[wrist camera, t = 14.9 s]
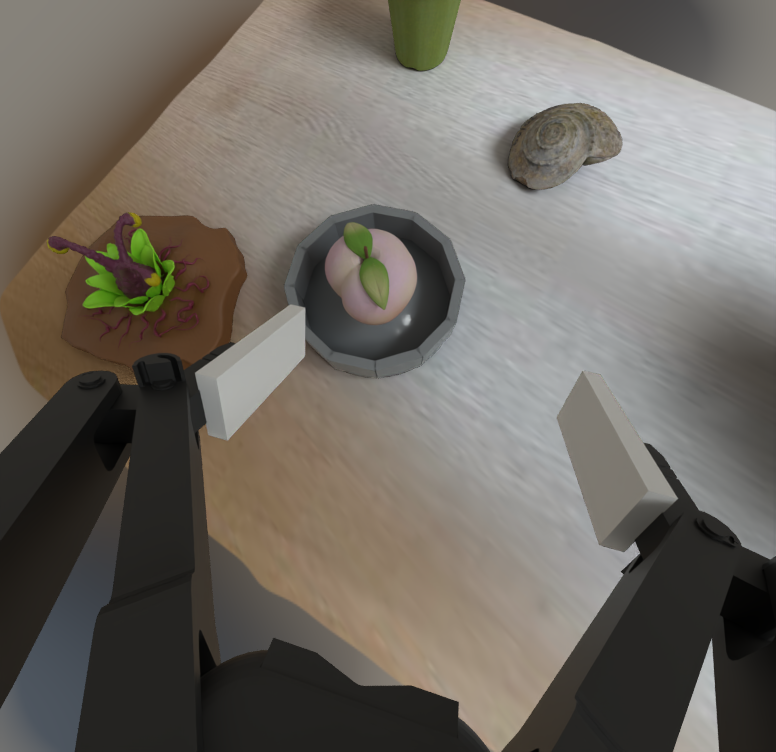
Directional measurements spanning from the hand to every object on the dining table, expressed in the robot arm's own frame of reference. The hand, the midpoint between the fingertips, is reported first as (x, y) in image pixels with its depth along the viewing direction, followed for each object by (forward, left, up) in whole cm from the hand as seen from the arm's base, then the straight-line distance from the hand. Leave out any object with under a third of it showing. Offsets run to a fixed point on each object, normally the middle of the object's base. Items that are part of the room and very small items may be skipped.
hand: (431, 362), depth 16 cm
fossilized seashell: (-35, -8, -20) cm, 41 cm away
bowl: (-6, -12, -20) cm, 24 cm away
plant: (+11, -31, -21) cm, 39 cm away
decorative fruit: (-6, -12, -19) cm, 23 cm away
